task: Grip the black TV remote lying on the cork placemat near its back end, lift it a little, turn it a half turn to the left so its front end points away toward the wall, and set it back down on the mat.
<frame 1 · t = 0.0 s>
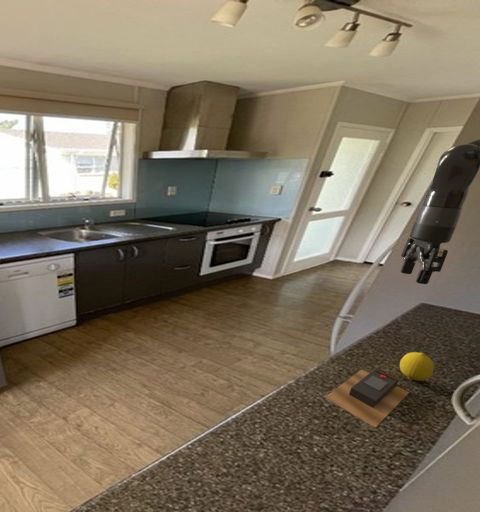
hand: (412, 278, 82), 21 cm above the countertop, tool pointing down, fingers open, 8 cm apart
placemat: (367, 396, 67), on the countertop
lemon: (410, 380, 72), on the countertop
remote: (373, 390, 68), resting on placemat
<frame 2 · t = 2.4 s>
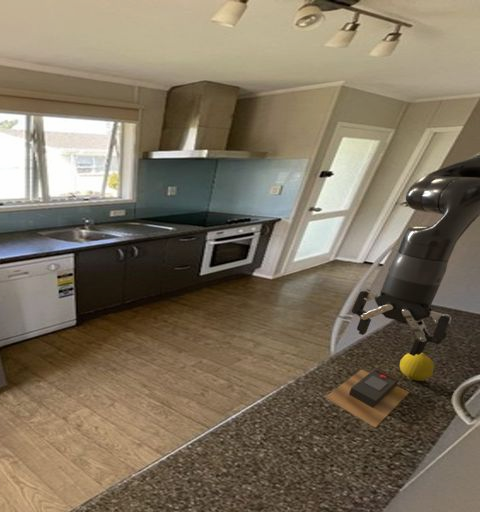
hand: (386, 343, 64), 14 cm above the countertop, tool pointing down, fingers open, 8 cm apart
nothing on the countertop moved.
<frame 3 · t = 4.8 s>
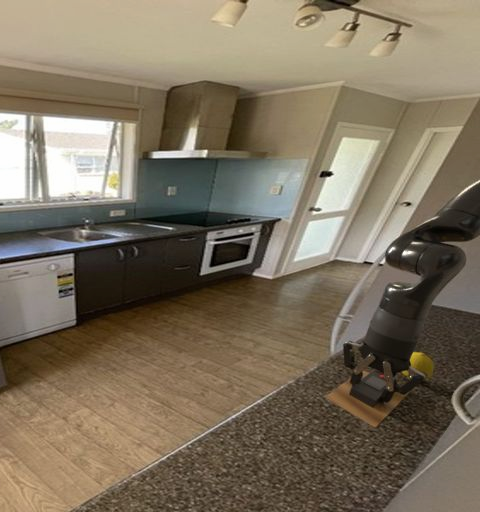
hand: (368, 393, 67), 1 cm above the countertop, tool pointing down, fingers closed on remote, 4 cm apart
remote: (373, 390, 68), resting on placemat, touching gripper
everything else where it was.
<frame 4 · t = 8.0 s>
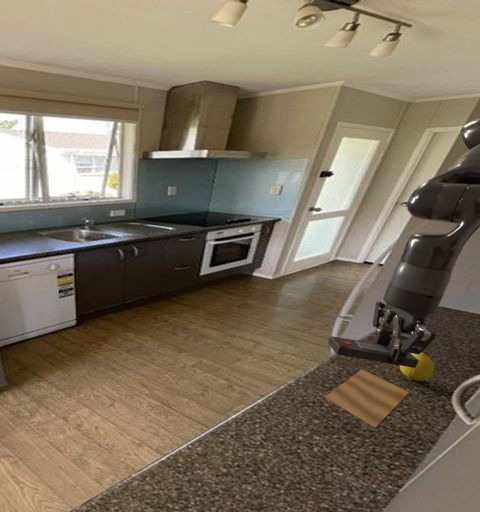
hand: (386, 356, 63), 12 cm above the countertop, tool pointing down, fingers closed on remote, 4 cm apart
remote: (368, 355, 63), point 11 cm above the countertop, touching gripper
everything else where it was.
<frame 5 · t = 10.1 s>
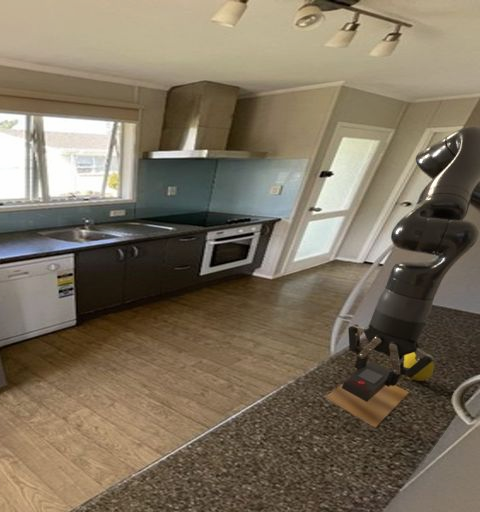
hand: (373, 377, 65), 5 cm above the countertop, tool pointing down, fingers closed on remote, 4 cm apart
remote: (367, 383, 64), point 5 cm above the countertop, touching gripper
everything else where it was.
when the fingers open (1 cm above the countertop, at t = 11.5 s): remote stays where it is, resting on placemat.
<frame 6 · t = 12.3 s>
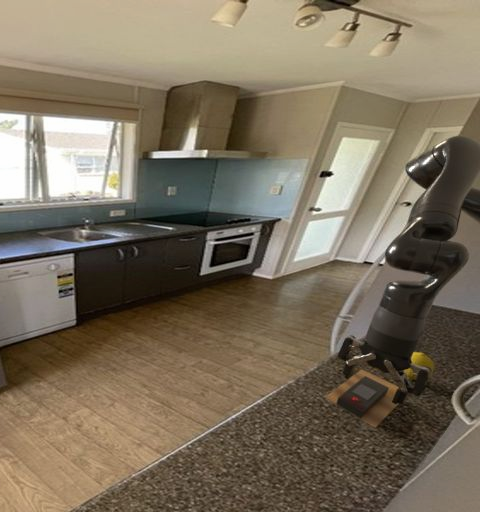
hand: (370, 389, 66), 2 cm above the countertop, tool pointing down, fingers open, 8 cm apart
remote: (361, 399, 65), resting on placemat
everything else where it was.
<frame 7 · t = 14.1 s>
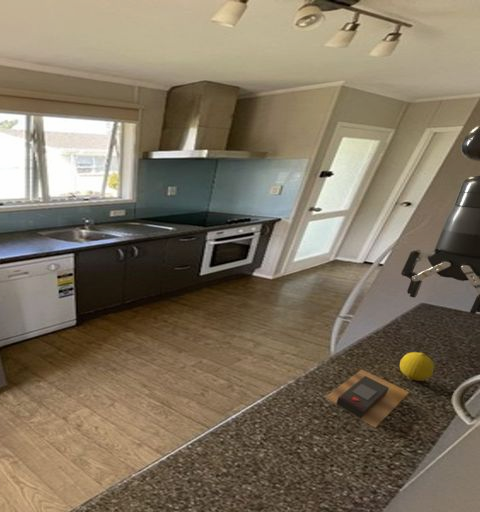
hand: (441, 304, 61), 23 cm above the countertop, tool pointing down, fingers open, 8 cm apart
nothing on the countertop moved.
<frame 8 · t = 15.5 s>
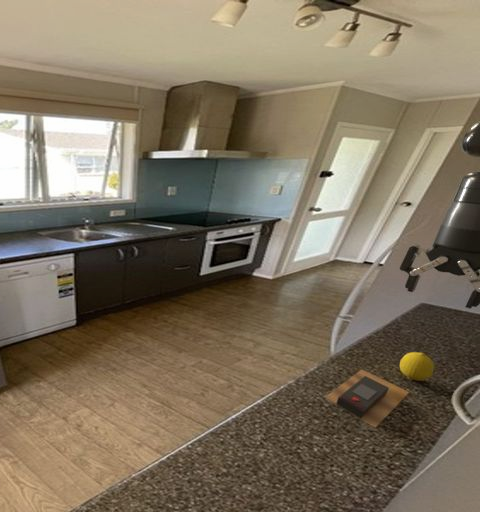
hand: (438, 298, 62), 24 cm above the countertop, tool pointing down, fingers open, 8 cm apart
nothing on the countertop moved.
at the end: remote 0.1 cm from the target spot, resting on placemat; remote tilted 0°; the gripper is holding nothing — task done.
